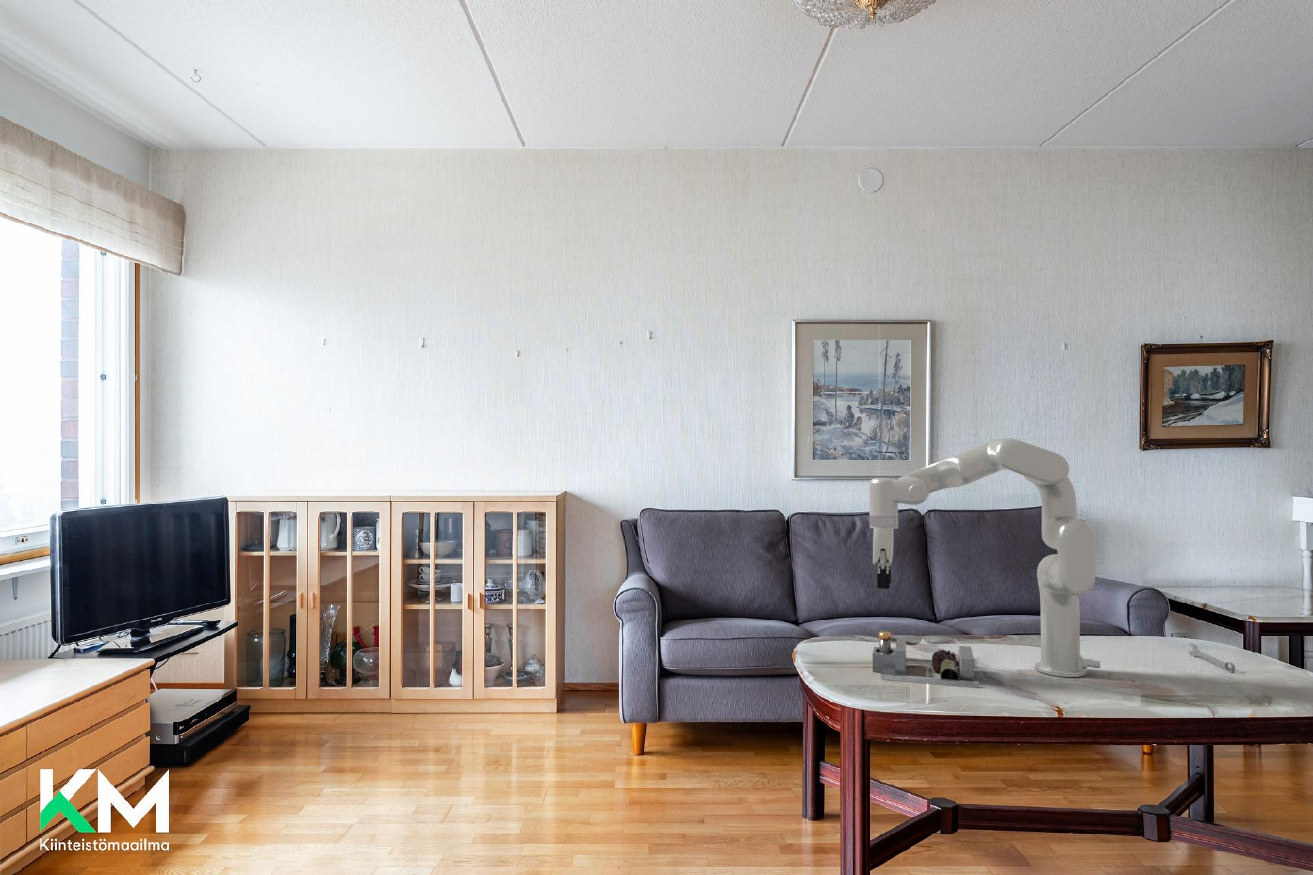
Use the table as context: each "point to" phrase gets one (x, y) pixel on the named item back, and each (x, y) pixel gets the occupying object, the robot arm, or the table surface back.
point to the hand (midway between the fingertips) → (884, 585)
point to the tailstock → (891, 659)
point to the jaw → (966, 663)
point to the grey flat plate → (927, 679)
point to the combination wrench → (1211, 658)
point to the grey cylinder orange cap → (884, 642)
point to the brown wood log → (945, 665)
